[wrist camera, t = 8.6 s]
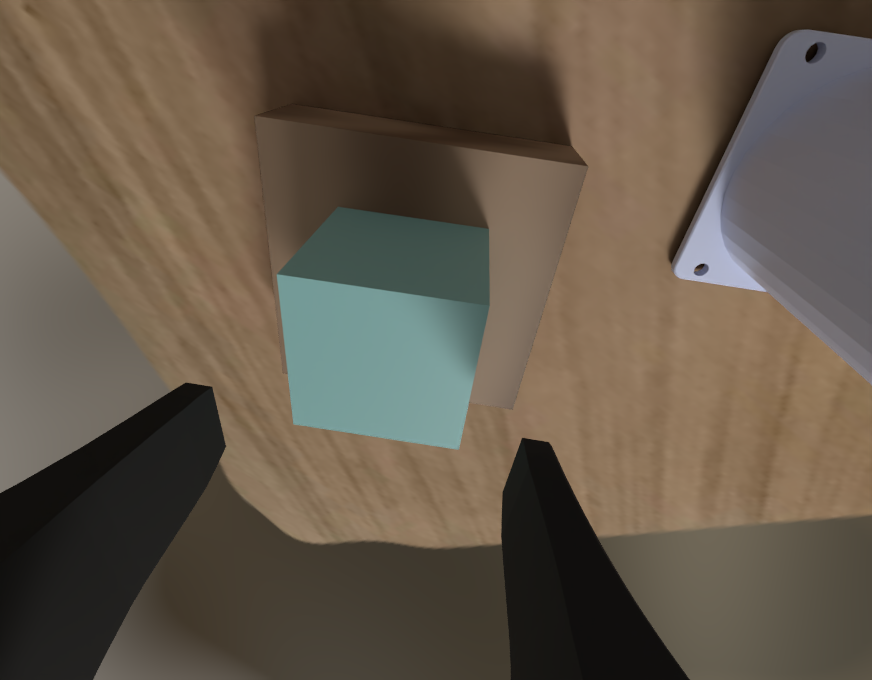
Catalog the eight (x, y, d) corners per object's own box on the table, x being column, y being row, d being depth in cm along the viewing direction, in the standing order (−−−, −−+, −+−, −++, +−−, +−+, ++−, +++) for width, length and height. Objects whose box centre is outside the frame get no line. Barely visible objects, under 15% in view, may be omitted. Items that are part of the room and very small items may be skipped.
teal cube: (489, 228, 14) (489, 305, 10) (465, 350, 17) (458, 449, 13) (338, 206, 14) (276, 274, 10) (340, 332, 17) (293, 424, 13)
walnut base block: (571, 146, 15) (588, 166, 13) (509, 366, 21) (512, 409, 18) (292, 103, 15) (254, 115, 13) (306, 334, 21) (282, 373, 18)
